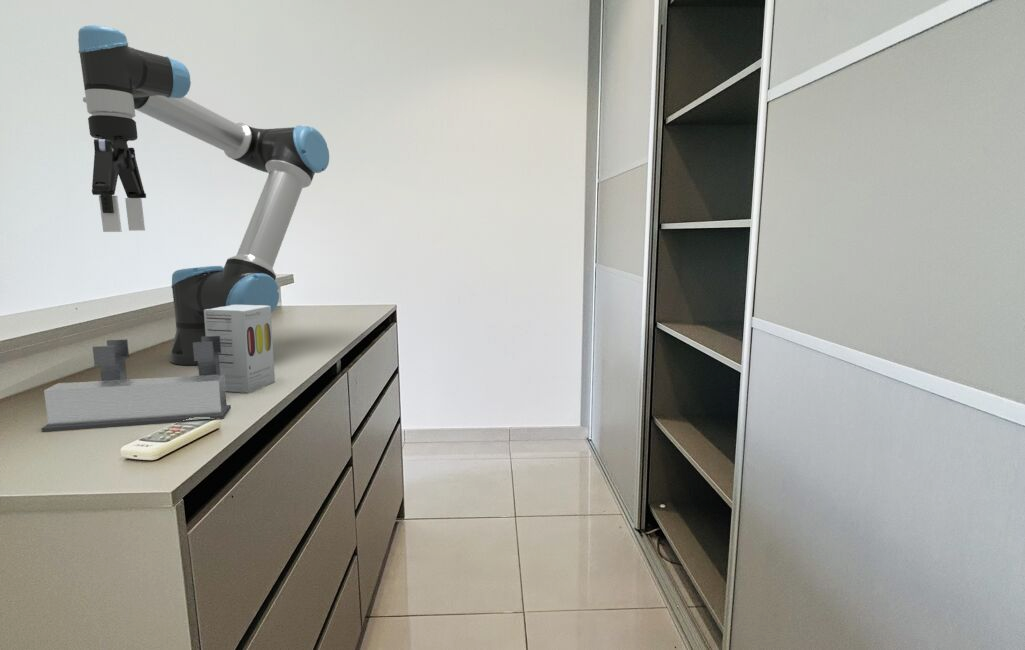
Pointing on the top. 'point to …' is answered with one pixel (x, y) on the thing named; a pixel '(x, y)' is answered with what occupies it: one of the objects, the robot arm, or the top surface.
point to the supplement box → (243, 345)
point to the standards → (117, 352)
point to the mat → (129, 422)
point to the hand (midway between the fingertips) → (125, 231)
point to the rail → (135, 399)
